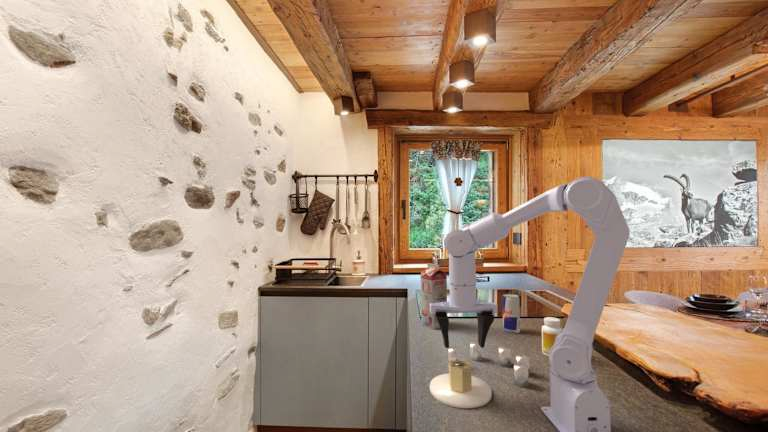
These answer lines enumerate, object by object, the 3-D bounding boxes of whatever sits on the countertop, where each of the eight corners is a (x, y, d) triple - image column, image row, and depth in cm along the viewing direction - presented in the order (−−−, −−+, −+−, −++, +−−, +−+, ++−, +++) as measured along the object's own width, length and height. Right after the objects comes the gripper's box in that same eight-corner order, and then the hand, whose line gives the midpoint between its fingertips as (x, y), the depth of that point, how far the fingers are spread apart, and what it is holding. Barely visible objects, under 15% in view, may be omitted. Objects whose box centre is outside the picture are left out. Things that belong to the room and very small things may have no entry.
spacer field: (542, 387, 69) (541, 368, 69) (458, 387, 69) (458, 369, 69) (512, 356, 85) (512, 341, 86) (445, 356, 86) (444, 341, 86)
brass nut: (473, 393, 65) (472, 368, 65) (452, 393, 65) (451, 368, 65) (467, 381, 70) (466, 358, 70) (447, 381, 70) (447, 358, 71)
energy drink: (499, 330, 107) (498, 294, 107) (511, 327, 109) (510, 293, 109) (512, 335, 102) (511, 297, 102) (523, 332, 104) (522, 296, 104)
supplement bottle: (567, 359, 83) (566, 322, 83) (545, 357, 84) (544, 321, 85) (560, 351, 88) (559, 316, 89) (539, 350, 89) (538, 315, 90)
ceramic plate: (500, 408, 61) (500, 404, 61) (434, 408, 61) (434, 404, 61) (481, 376, 74) (481, 373, 74) (426, 376, 74) (426, 373, 74)
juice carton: (432, 329, 108) (431, 265, 109) (421, 324, 114) (420, 263, 115) (447, 326, 111) (446, 264, 112) (435, 321, 117) (434, 262, 118)
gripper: (489, 280, 73) (490, 339, 73) (427, 281, 73) (428, 339, 73) (500, 286, 66) (502, 351, 66) (431, 286, 66) (432, 351, 66)
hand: (463, 346), depth 69 cm, fingers open, 7 cm apart
